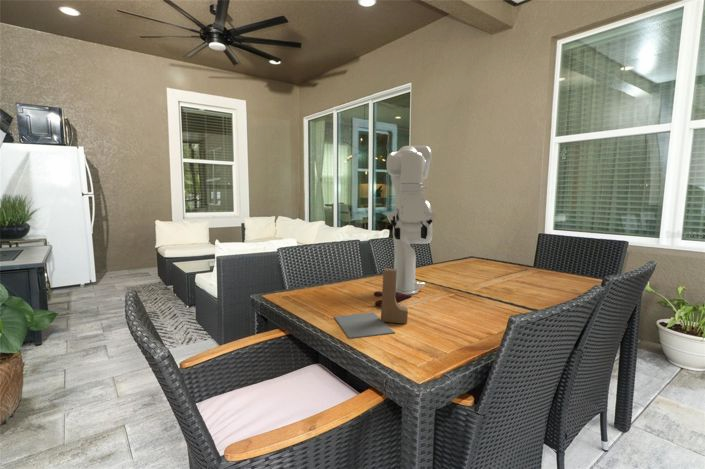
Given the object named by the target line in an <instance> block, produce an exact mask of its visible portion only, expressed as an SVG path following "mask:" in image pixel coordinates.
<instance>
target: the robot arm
mask: <svg viewBox="0 0 705 469" xmlns="http://www.w3.org/2000/svg"><path fill="white" fill-rule="evenodd" d="M432 156H433V154H432V150H431V148H430V147H429V146H427V145H404V146H401V148H399V150H398V151H392V152H390V153H389V154H388V155H387V159H386V171H387V173H388V175H389V176H390V178H391V182H392V185H393V188H394V190H395V210H393V211H392V212H390V213H388V214H387V215H386V217H387V220H388V222H389V224H391V225H392V237H393V246H394V247H393V249H394V250H393V251H394V257H393V258H394V265H393V266H394V267H393V269H397V275H396V292H399V293H403V294H407V295H410V296H412V295H416V294H418V293H419V288H420V287H421V288H422V287H425V286H426V282H425V281H424V282H419V281H416V266H417V264H416V263H417V260H416V258H417V256H416V251H415V249H414V248H413V247H412V246H411V244H412V245H413V244H417V245H418V244H419V245H421V244H422V245H423V244H426V245H427V244H430V243H431V242H432V240H433V220H434V218H435V216H436V215H435V214H434V213H433V212H432V205H431V203H430V202H429V201H428V200H426V196H425V193H423V192H424V190H425V191H426V190H427V185H424V183H423V182H424V180H426V179H427V178H428V177H429V175H430V169H431V164H432V159H433V158H432ZM393 217H394V218H395V220H394V218H393Z"/></svg>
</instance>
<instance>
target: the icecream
mask: <svg viewBox="0 0 705 469" xmlns="http://www.w3.org/2000/svg"><path fill="white" fill-rule="evenodd" d="M373 295H374V297H376V298H382V291H380V290H379V291H374V292H373ZM412 297H413V296H412V295H407V294H403V293H399V292H396V293H395V298H396V302H397V303H398V304H399V303H401V302H403V301H406V300H409V299H411V298H412ZM374 306H376V307H378V306H379V307H380V306H382V299H379V300H377V301H375V302H374Z"/></svg>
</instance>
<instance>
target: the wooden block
mask: <svg viewBox="0 0 705 469" xmlns="http://www.w3.org/2000/svg"><path fill="white" fill-rule="evenodd" d="M396 275H397V269H394V268H389V267H387V268H386V267H385V268H383V271H382V289H381V290H382V291H381V292H382V297H381V300H382V305H381V309H380V310H381V311H380V312H381V313H380V319H381V321H382V322H384V323H394V324H395V323H396V324H408V316H409V313H408V312H409V310H408V307H405V306H401V305H400V304H399V303H397V302H396V298H395V293H396Z"/></svg>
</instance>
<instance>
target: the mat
mask: <svg viewBox="0 0 705 469" xmlns="http://www.w3.org/2000/svg"><path fill="white" fill-rule="evenodd" d="M333 318H334V319H335V320H336V323H337V324H338V325H339V326H340V328H341V329H342V330H343V332H344V333H345V334H346V336H347V337H348V339H358V338H359V339H360V338H367V337H374V336H382V335H392V334H396V333H395V331H394V330H393V329H392V328H391V327H390V326H388V324H386V322H382V321H381V317H379V316H378V315H377V314H376V313H375V312H373V311H372V312H365V313H353V314H345V315H334V316H333Z"/></svg>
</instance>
